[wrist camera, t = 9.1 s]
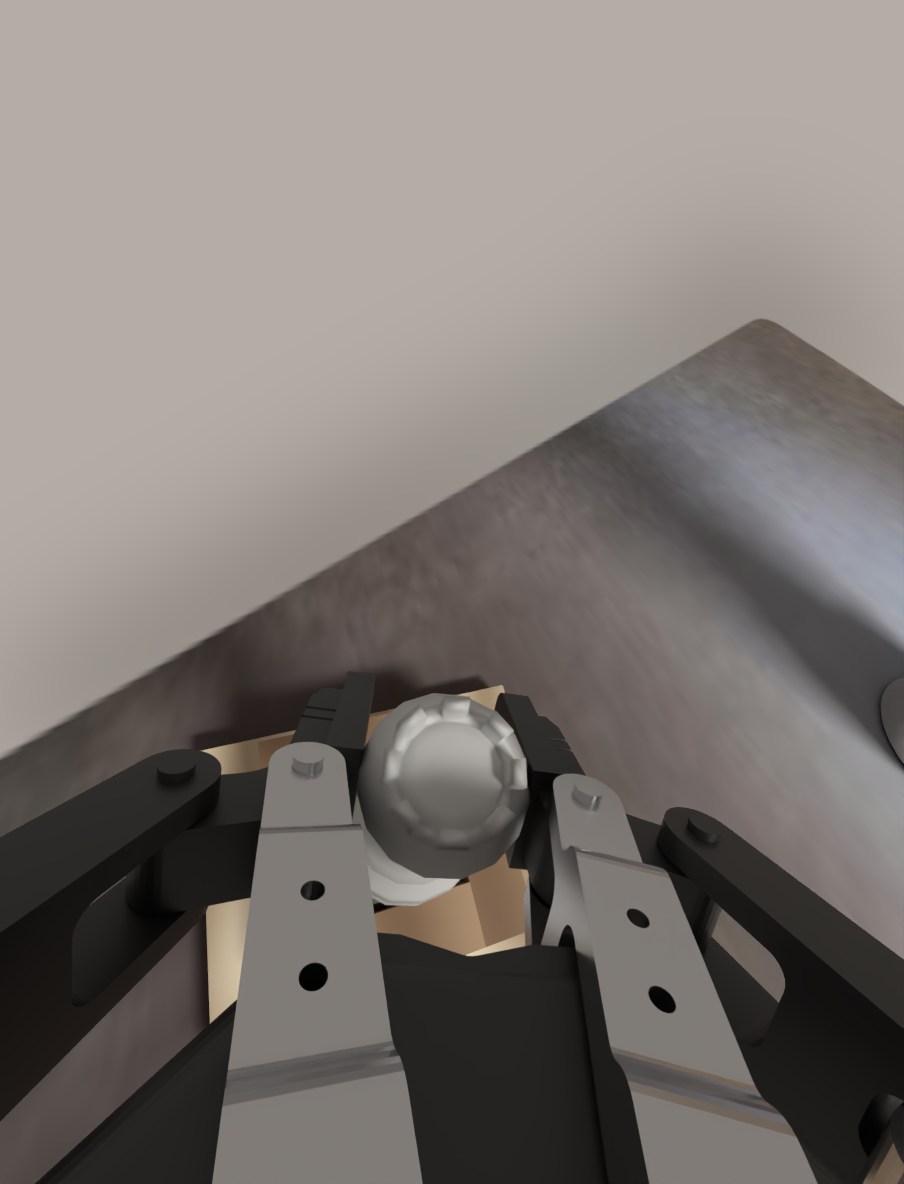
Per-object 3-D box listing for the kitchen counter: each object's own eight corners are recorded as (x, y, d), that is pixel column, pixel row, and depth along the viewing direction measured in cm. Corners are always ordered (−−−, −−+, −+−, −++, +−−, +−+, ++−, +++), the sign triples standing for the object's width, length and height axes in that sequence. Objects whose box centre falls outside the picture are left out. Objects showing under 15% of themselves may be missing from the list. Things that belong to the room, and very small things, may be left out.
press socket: (495, 693, 30) (517, 665, 26) (569, 922, 24) (611, 930, 20) (208, 757, 25) (182, 735, 21) (220, 1057, 20) (189, 1099, 16)
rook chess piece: (305, 792, 15) (274, 715, 8) (430, 721, 17) (489, 611, 10) (374, 944, 13) (405, 1003, 7) (503, 847, 15) (632, 817, 8)
